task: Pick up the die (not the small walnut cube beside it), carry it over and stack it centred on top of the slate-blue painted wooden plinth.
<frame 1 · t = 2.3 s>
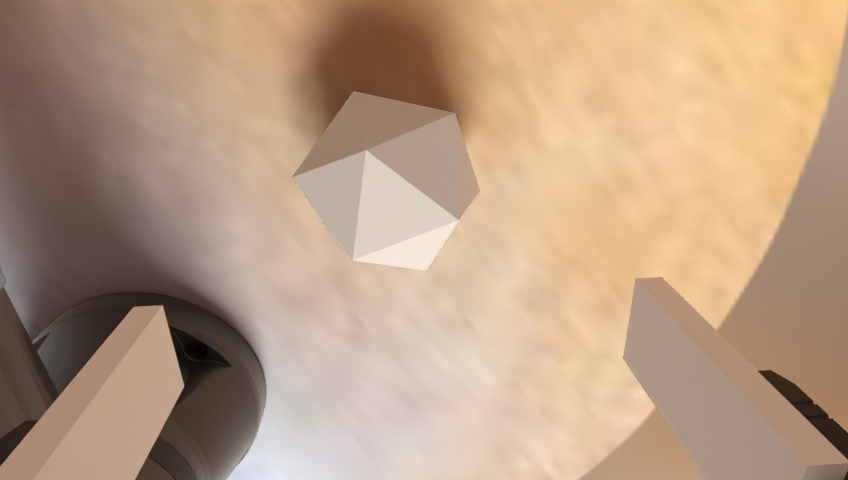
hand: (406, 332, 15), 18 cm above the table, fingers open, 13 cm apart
die: (390, 162, 31), on the table
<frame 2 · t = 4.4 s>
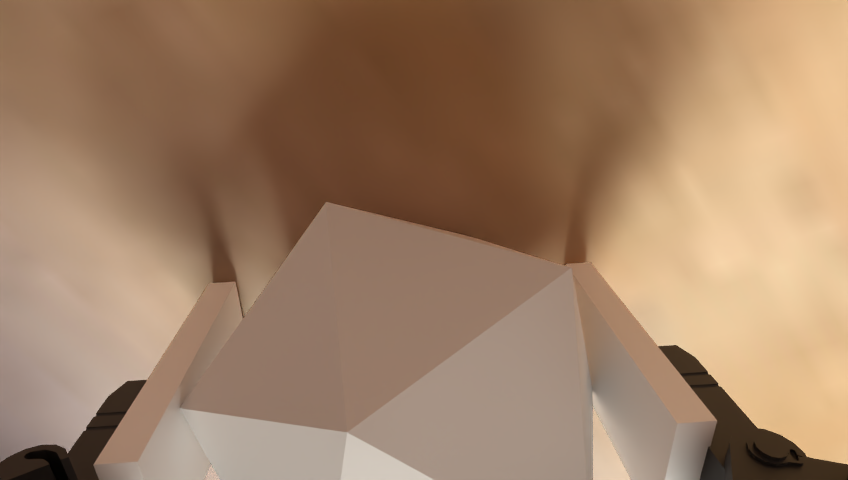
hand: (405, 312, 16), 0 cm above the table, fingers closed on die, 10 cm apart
die: (404, 304, 16), on the table, touching gripper
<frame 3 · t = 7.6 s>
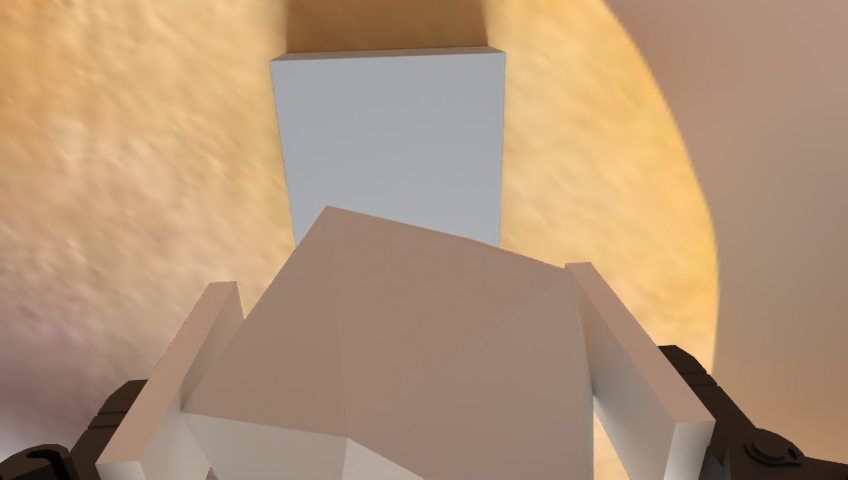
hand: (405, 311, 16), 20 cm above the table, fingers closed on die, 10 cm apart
die: (405, 307, 16), point 19 cm above the table, touching gripper
plinth: (393, 148, 34), on the table
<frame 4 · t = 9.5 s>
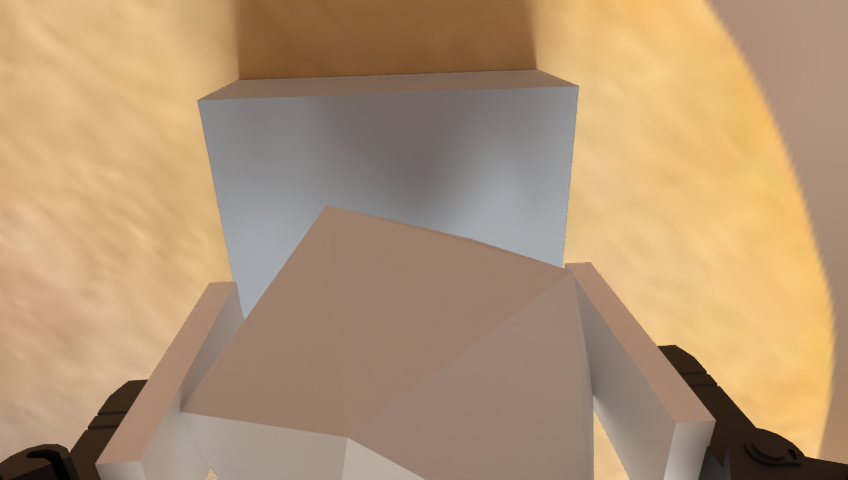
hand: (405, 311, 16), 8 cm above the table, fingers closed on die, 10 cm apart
die: (405, 307, 16), point 8 cm above the table, touching gripper
plinth: (397, 213, 23), on the table
when the fingers open (7 cm above the table, at t = 10.9 s): die drops 1 cm, resting on plinth.
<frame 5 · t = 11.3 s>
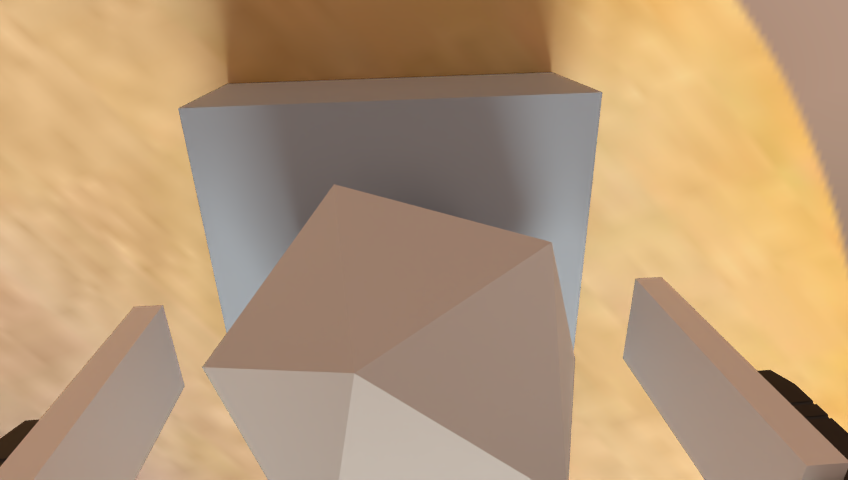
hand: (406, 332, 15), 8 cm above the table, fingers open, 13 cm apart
die: (403, 285, 18), point 5 cm above the table, touching plinth
plinth: (399, 227, 22), on the table
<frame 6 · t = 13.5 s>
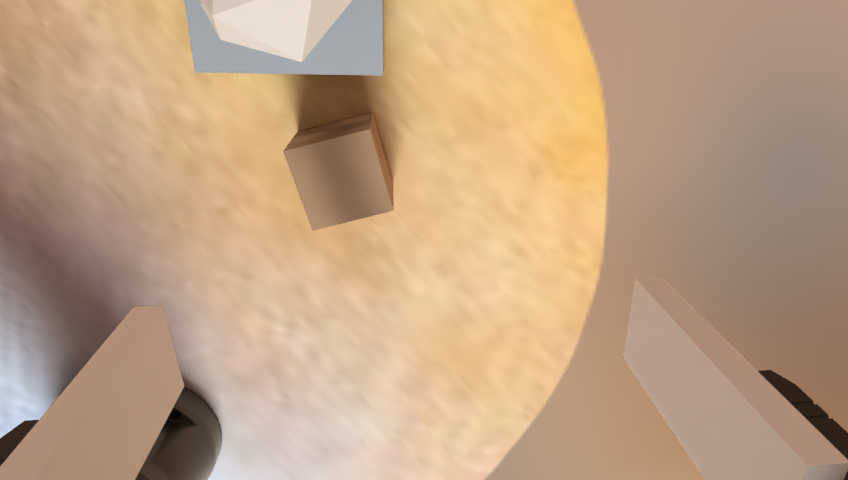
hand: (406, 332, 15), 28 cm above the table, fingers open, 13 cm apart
walnut cube: (346, 158, 42), on the table
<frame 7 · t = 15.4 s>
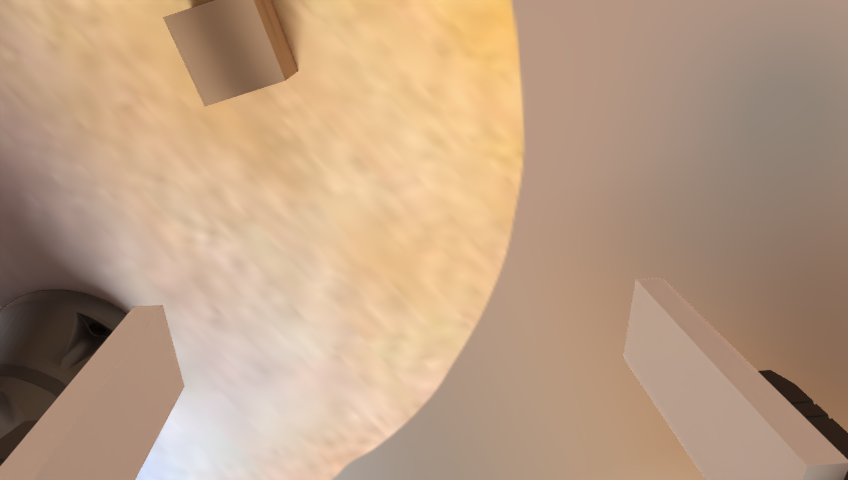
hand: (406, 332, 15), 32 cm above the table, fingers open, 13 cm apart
walnut cube: (247, 43, 41), on the table
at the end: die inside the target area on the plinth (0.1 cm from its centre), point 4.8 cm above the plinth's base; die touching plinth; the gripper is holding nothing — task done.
